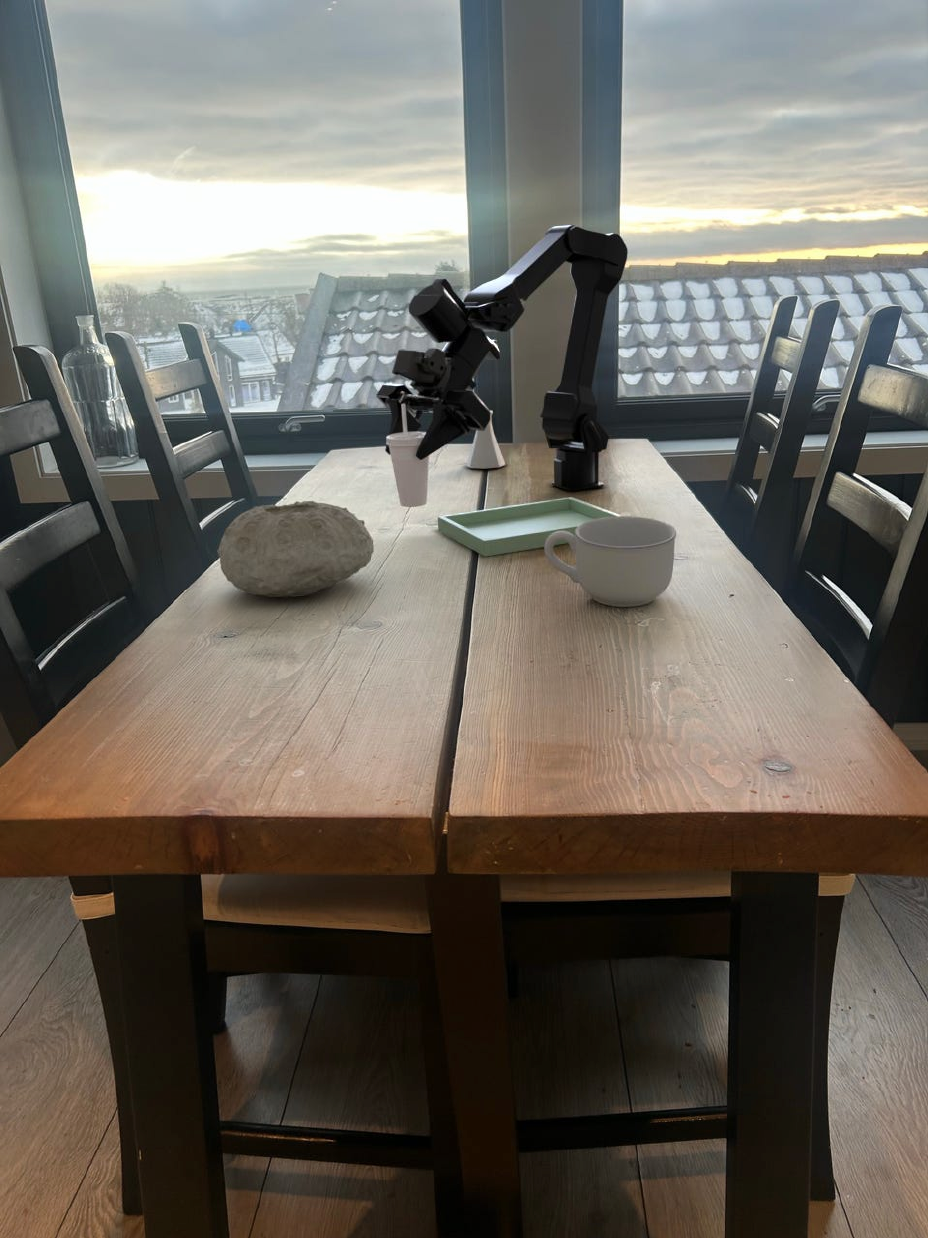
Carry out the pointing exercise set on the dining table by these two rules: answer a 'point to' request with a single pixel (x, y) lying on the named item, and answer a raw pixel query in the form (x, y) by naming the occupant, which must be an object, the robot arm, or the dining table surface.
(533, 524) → the tray
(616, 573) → the teacup
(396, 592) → the dining table surface
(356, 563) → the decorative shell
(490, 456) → the flask
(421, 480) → the smoothie
